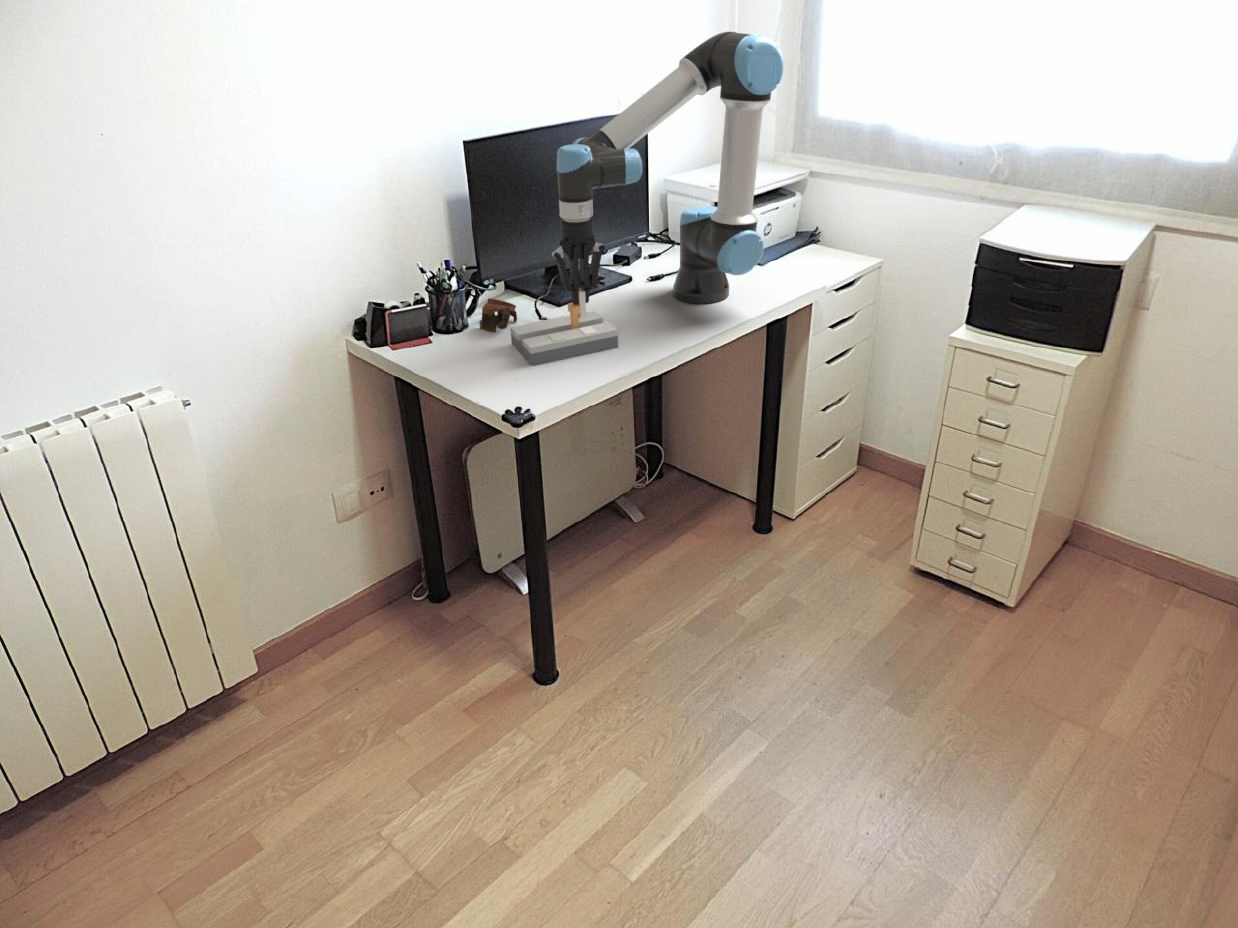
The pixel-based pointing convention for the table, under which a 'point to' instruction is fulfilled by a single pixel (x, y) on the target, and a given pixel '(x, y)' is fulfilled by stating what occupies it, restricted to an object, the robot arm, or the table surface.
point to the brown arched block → (500, 320)
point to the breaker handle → (574, 315)
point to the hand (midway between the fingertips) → (581, 316)
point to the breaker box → (563, 338)
